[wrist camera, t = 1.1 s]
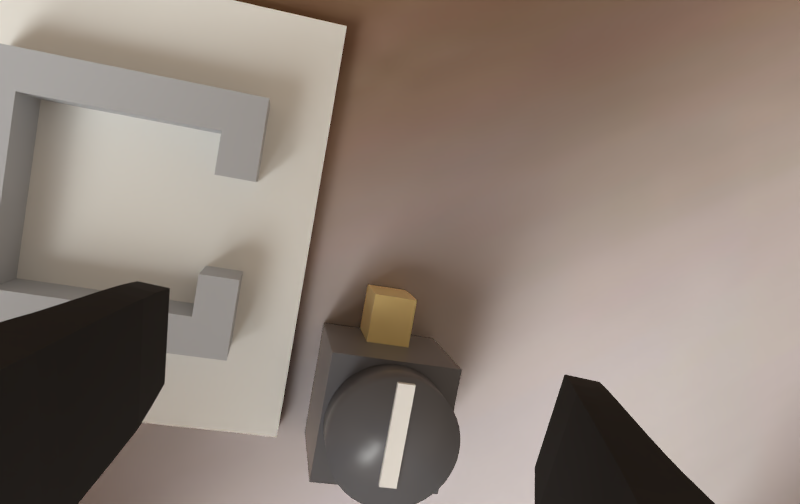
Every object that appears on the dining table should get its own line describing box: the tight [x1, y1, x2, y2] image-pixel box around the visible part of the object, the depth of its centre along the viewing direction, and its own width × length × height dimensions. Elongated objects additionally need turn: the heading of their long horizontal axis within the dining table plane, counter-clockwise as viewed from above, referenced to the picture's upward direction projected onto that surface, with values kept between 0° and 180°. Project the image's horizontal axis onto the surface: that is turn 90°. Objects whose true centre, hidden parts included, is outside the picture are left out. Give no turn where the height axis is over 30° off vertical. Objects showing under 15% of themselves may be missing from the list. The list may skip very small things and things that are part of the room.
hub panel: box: [0, 0, 347, 437], centre depth 21 cm, size 14×12×3 cm
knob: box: [305, 284, 461, 504], centre depth 21 cm, size 6×4×6 cm
